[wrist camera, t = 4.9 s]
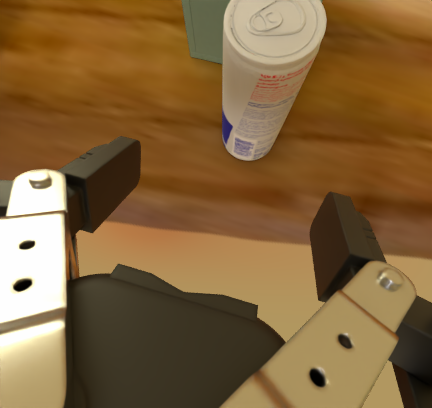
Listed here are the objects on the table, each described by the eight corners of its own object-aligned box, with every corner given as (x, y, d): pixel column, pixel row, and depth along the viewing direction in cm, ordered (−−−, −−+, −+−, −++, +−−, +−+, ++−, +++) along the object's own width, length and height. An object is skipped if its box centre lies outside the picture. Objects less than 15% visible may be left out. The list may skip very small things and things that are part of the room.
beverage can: (283, 131, 29) (349, 5, 14) (254, 172, 28) (291, 83, 13) (241, 104, 29) (261, -43, 15) (212, 143, 29) (202, 28, 14)
